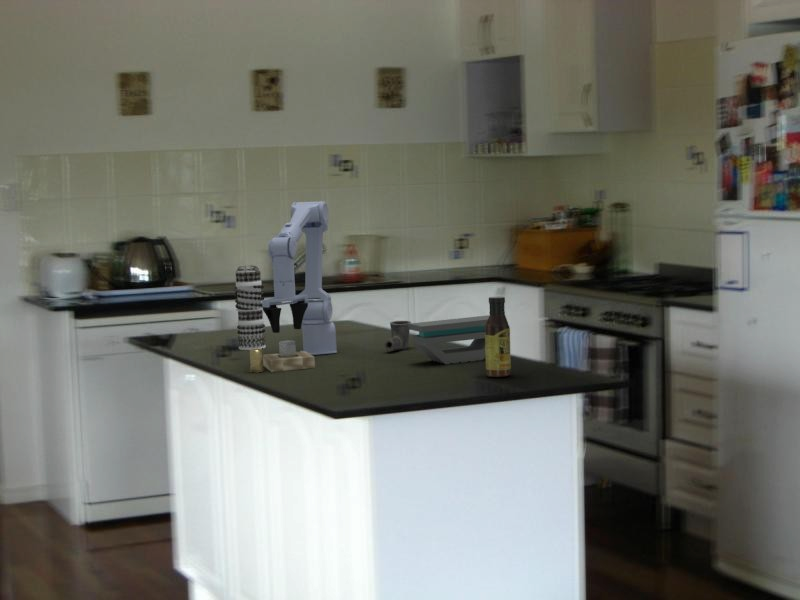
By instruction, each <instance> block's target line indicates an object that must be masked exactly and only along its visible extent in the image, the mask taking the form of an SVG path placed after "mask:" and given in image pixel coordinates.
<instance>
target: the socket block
mask: <svg viewBox="0 0 800 600" xmlns="http://www.w3.org/2000/svg"><path fill="white" fill-rule="evenodd" d="M300 351H301V350H300ZM300 351H296V357H286V358H280V355H279V353H267V354H262V364H263V367H264V368H266V369H267V370H268V371H269V372H271V373H273V372H285V371H293V370H294V371H297V370H305V369H306V370H307V369H316V361H315V358H316V357H315V355H311V354H309V353H307V352H306V351H301V352H300Z"/></svg>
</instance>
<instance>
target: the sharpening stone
mask: <svg viewBox="0 0 800 600" xmlns="http://www.w3.org/2000/svg"><path fill="white" fill-rule="evenodd" d="M489 316H490V314H489V315H480V316H470V317H469V316H468V317H461V318H459V317H458V318H451V319H441V320H439V319H438V320H431V321H421V322H411V323H410V324H409V329H410V330H411V331H413V332H418V334H415V335H413V334H412V343H413V345H414V346H416V347H417V348H418V350H420V351H421V352H422V353H424V354H425V356H427V357H428V358H429V359H430V360H431V361H432V360H433V361H432V362H435V361H437V362H436V363H439V362H440V363H439V364H443V363H444V365H451V364H450V363H453V364H459V362H461V363H467V362H468V361H470V362H476V361H477V360H478V361H483V360H485V359H486V355H485V334H486V332H485V325H486V322H487V320H488V318H489ZM410 330H409V331H410ZM471 340H472V342H471V343H470V344H469V346H461V347H452V348H442V349H441V348H440V347H439V346H438V345H437V344H445V343H453V342H461V341H463V342H464V341H471Z"/></svg>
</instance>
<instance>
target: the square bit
mask: <svg viewBox="0 0 800 600" xmlns="http://www.w3.org/2000/svg"><path fill="white" fill-rule="evenodd" d="M296 344H297V343H296V340H288V339H287V340H282V341H278V349H279V350H278V352H279V355H280V358H286V357H296V352H297V347H296Z"/></svg>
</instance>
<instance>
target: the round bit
mask: <svg viewBox="0 0 800 600" xmlns="http://www.w3.org/2000/svg"><path fill="white" fill-rule="evenodd" d="M249 361H250V362H249V363H250V373H251V372H254V373H253V374H259V372H261V373H264V366H263V349H251V350H249Z"/></svg>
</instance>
